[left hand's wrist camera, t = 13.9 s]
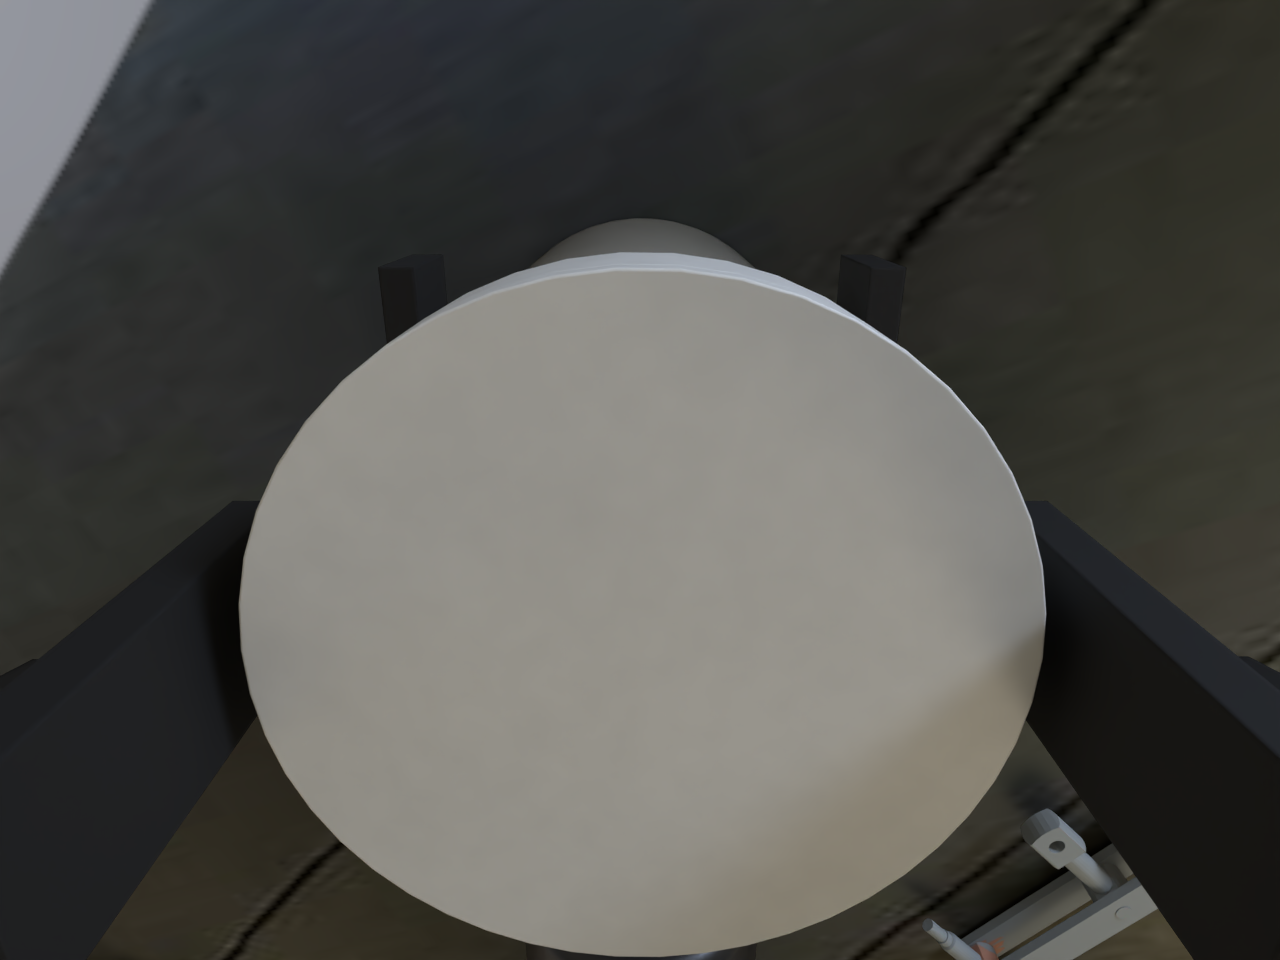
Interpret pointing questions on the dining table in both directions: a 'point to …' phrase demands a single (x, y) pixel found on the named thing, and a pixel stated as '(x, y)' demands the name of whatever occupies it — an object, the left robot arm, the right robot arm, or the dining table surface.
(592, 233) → the jar
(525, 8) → the dining table surface
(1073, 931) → the clamp
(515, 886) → the lid
